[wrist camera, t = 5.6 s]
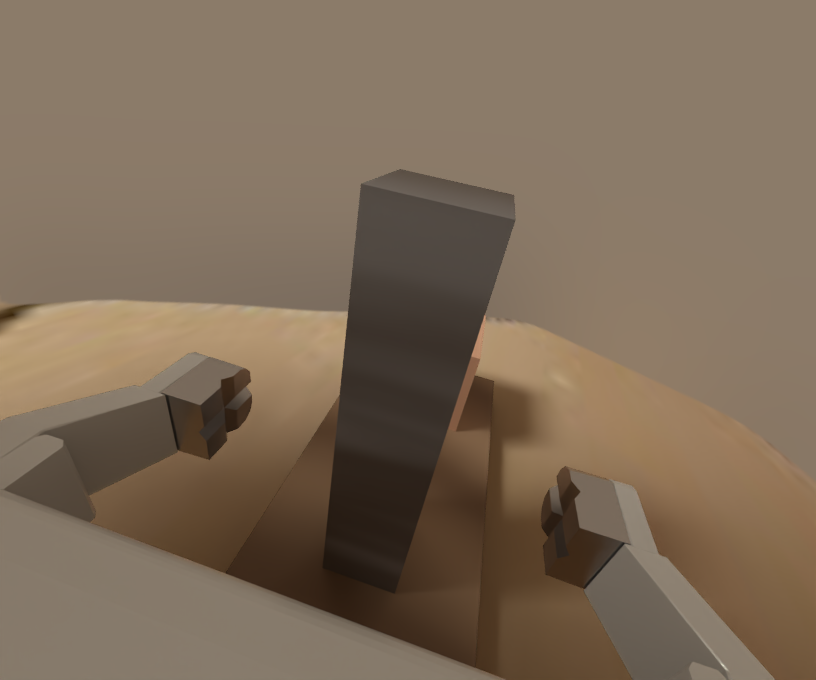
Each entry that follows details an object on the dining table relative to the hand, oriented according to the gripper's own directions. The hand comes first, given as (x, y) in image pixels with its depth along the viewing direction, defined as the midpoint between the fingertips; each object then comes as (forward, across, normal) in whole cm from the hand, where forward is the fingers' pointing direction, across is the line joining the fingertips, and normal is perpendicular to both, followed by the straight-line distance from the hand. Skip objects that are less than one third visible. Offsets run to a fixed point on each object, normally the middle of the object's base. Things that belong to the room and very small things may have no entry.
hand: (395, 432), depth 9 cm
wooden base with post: (+4, 0, +8) cm, 9 cm away
